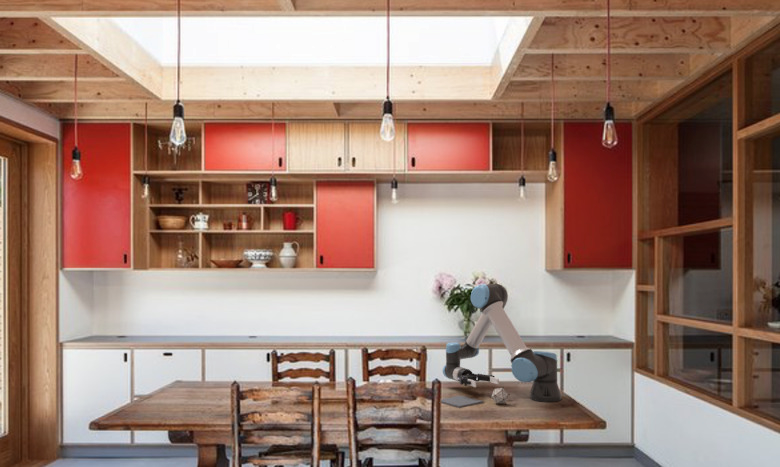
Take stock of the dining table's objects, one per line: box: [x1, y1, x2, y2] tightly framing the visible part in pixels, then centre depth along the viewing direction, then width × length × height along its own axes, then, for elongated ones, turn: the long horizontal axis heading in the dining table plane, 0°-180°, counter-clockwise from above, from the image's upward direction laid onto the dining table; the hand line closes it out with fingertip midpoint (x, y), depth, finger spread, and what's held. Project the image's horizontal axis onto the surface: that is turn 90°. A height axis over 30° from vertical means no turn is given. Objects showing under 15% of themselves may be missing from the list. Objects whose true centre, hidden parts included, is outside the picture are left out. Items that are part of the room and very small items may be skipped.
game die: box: [489, 386, 511, 406], centre depth 301 cm, size 9×8×10 cm
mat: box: [440, 395, 484, 409], centre depth 305 cm, size 16×16×1 cm
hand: (487, 382), depth 310 cm, fingers open, 13 cm apart
